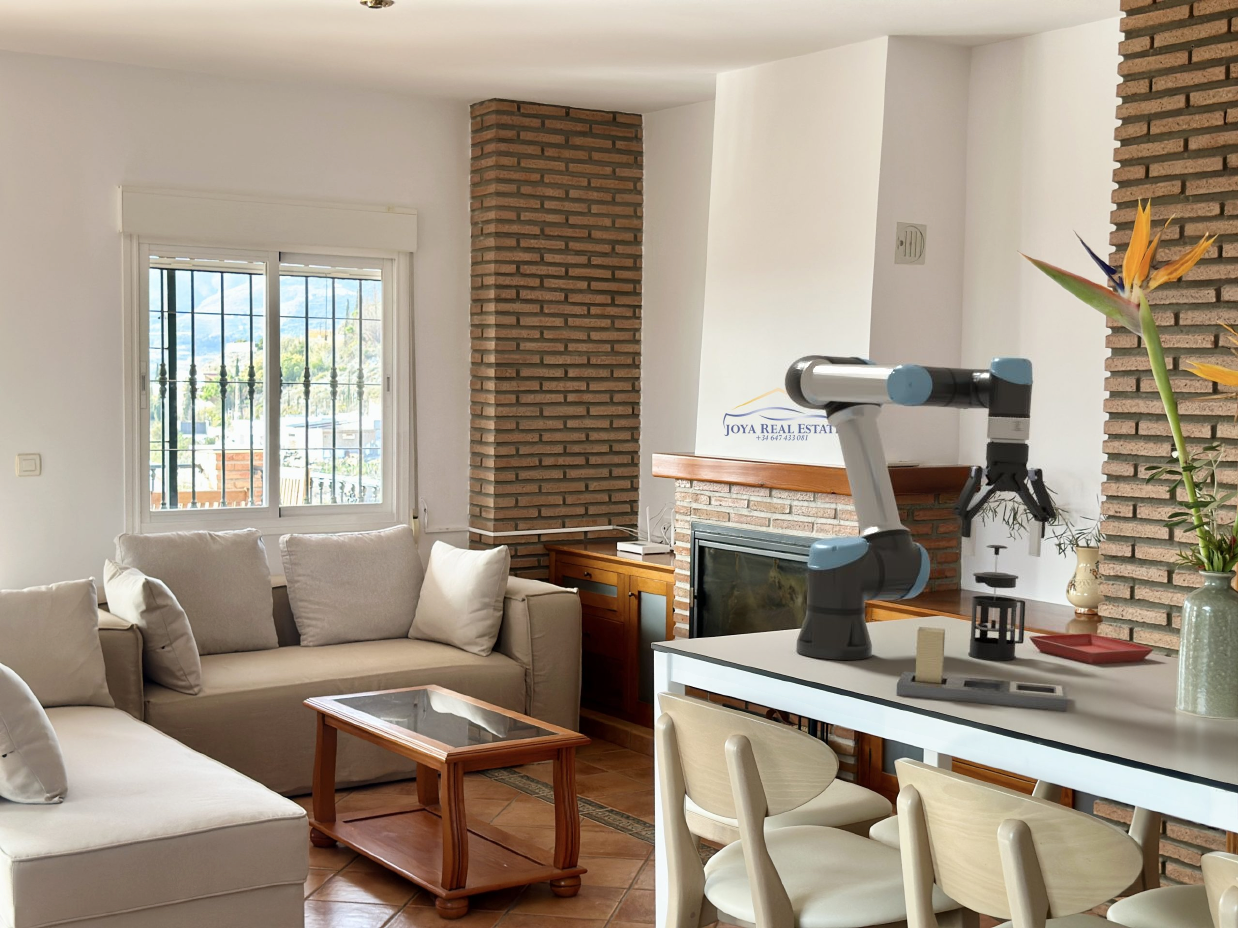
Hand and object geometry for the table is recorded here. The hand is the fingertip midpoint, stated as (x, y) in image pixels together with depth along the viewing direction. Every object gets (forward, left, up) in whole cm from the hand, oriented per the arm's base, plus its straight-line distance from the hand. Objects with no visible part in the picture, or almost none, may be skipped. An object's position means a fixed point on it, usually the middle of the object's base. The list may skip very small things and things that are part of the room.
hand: (1002, 555), depth 246 cm
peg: (-11, -17, -23) cm, 31 cm away
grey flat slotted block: (-2, -17, -23) cm, 29 cm away
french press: (-1, +26, -23) cm, 35 cm away
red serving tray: (+18, +38, -24) cm, 48 cm away
